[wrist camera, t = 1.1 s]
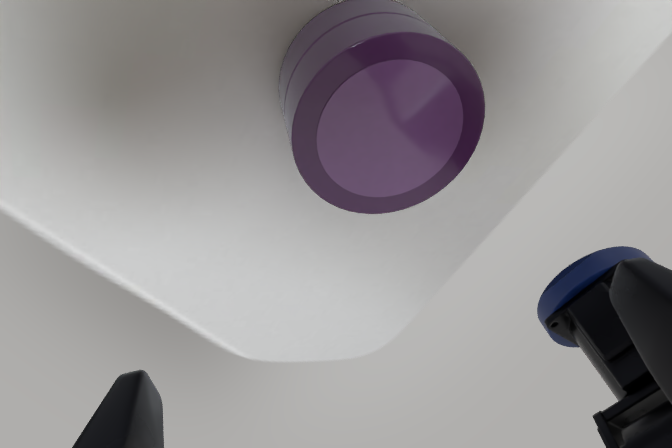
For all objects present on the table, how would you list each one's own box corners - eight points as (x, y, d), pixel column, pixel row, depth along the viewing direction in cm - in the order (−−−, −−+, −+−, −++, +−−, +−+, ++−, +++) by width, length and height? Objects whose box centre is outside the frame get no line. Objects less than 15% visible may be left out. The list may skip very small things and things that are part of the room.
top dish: (497, 87, 19) (524, 110, 17) (380, 210, 21) (394, 240, 19) (368, -33, 15) (387, -18, 14) (247, 131, 18) (250, 160, 16)
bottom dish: (475, 67, 20) (497, 87, 19) (368, 183, 23) (380, 210, 21) (354, -45, 17) (368, -33, 15) (244, 106, 19) (247, 131, 18)
